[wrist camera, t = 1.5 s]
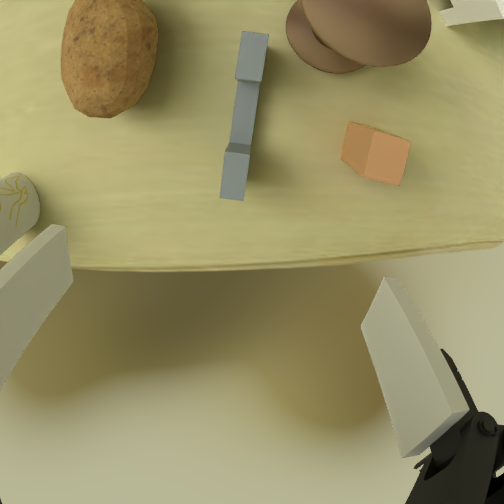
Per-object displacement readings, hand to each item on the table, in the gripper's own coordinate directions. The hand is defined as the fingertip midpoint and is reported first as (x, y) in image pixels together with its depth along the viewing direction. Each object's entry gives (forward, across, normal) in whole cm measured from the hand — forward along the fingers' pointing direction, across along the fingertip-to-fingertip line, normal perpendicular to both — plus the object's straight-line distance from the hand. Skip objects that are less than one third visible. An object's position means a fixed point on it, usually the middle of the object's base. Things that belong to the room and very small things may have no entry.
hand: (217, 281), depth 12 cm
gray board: (+20, 0, +5) cm, 21 cm away
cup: (+21, -29, -8) cm, 37 cm away
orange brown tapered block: (+21, +12, +4) cm, 24 cm away
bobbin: (+20, +6, +15) cm, 26 cm away
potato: (+20, -14, +11) cm, 27 cm away
